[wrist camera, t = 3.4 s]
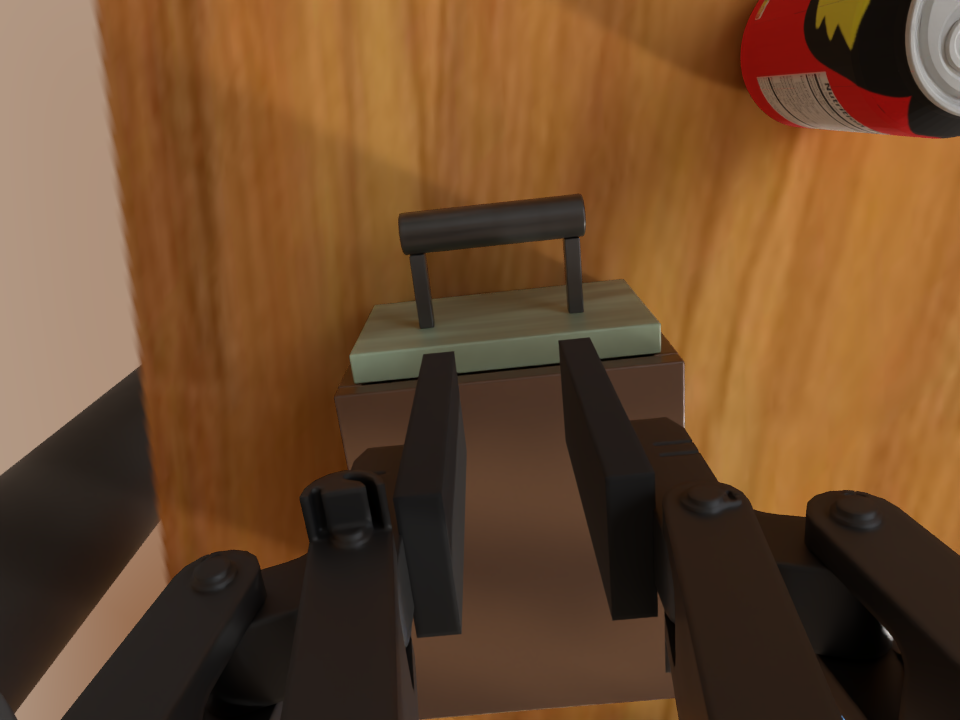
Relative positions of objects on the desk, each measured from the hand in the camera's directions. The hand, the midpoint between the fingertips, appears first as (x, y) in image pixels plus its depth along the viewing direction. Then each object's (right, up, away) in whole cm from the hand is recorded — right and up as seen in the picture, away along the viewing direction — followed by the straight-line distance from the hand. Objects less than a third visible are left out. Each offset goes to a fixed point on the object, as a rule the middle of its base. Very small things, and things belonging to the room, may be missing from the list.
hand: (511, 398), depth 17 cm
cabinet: (+1, -4, +19) cm, 20 cm away
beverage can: (+13, +14, +13) cm, 23 cm away
